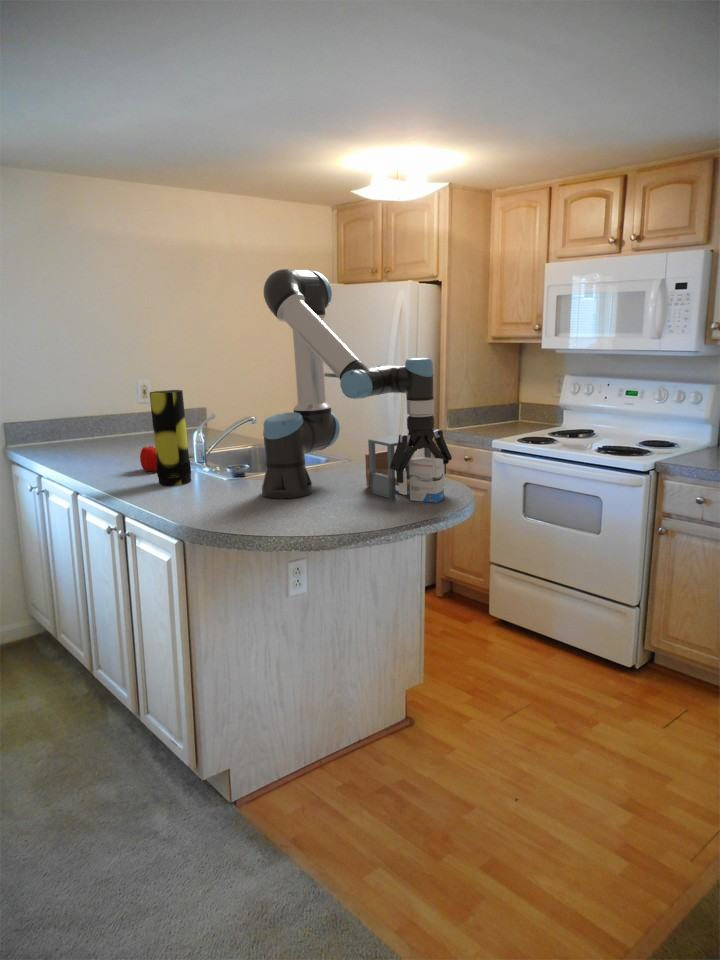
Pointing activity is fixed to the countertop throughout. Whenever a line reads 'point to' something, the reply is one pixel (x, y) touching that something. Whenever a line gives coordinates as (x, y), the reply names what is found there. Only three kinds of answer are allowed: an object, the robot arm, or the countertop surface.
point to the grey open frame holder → (383, 482)
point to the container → (170, 437)
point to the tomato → (148, 459)
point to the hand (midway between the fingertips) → (422, 489)
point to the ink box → (426, 479)
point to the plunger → (380, 466)
